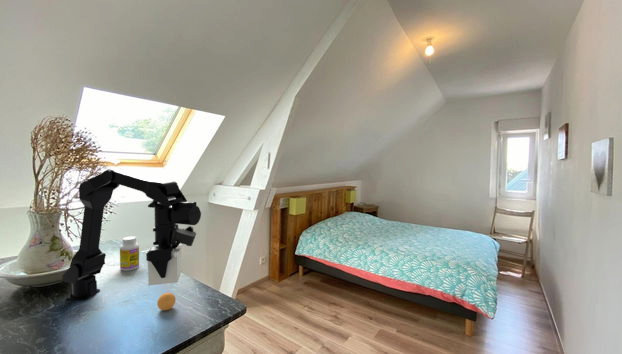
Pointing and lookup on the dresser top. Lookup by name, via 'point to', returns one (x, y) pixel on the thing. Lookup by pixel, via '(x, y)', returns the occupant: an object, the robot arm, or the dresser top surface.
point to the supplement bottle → (129, 254)
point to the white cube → (172, 270)
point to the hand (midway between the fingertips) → (166, 272)
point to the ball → (166, 301)
